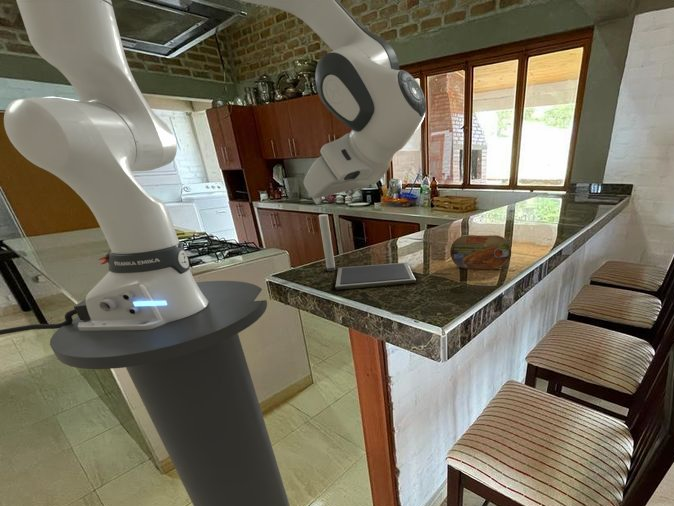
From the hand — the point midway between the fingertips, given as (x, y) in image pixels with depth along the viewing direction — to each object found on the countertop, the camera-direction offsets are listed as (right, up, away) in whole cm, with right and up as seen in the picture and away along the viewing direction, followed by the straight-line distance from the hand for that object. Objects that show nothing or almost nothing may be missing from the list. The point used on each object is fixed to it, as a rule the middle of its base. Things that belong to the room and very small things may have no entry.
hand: (333, 196), depth 75 cm
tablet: (+9, -17, +7) cm, 20 cm away
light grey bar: (-4, -15, +13) cm, 20 cm away
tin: (+35, -14, +11) cm, 40 cm away
